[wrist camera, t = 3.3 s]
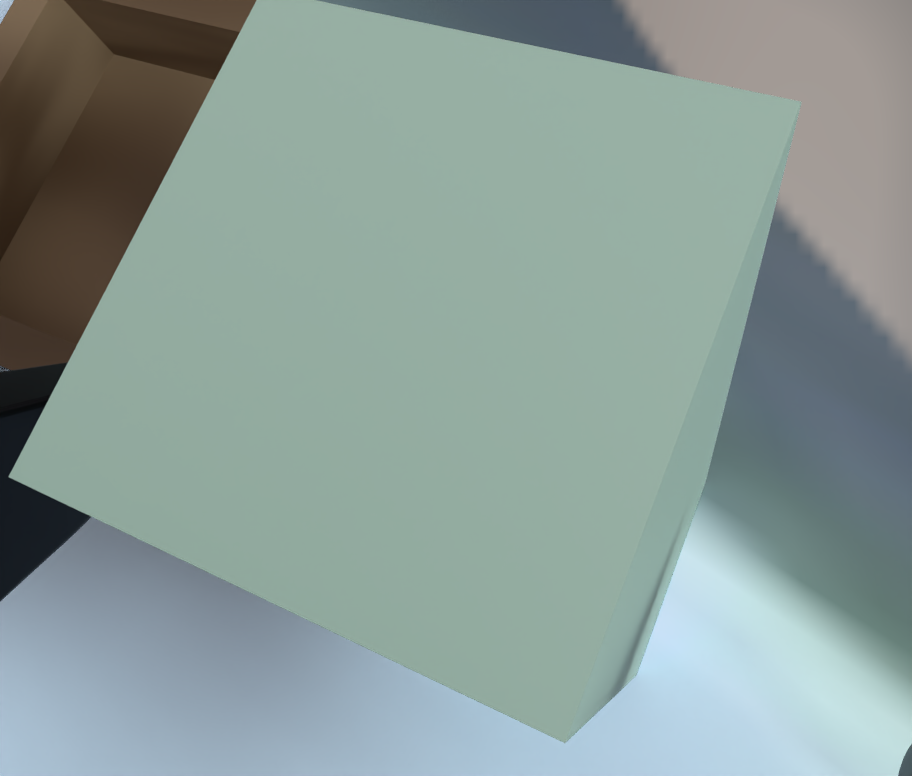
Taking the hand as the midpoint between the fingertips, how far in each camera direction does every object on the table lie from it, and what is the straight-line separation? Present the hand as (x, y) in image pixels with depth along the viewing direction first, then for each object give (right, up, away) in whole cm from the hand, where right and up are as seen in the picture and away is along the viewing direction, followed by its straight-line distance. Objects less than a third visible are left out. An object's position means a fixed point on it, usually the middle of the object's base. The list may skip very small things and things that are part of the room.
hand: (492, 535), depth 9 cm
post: (+2, -2, +8) cm, 9 cm away
